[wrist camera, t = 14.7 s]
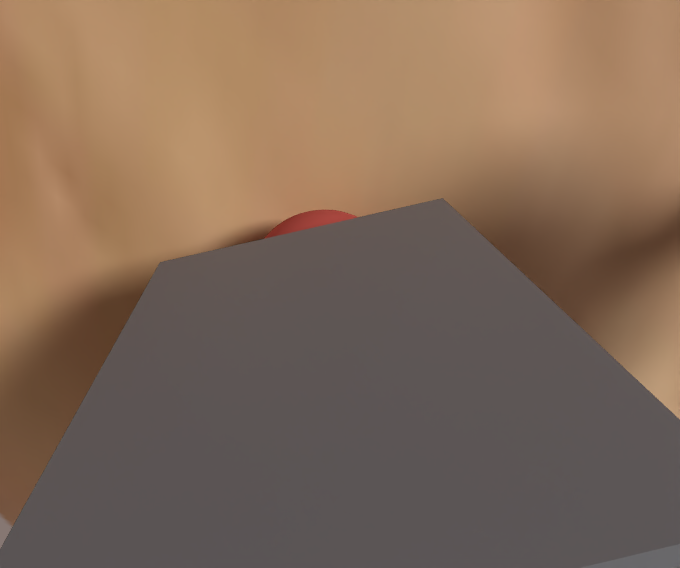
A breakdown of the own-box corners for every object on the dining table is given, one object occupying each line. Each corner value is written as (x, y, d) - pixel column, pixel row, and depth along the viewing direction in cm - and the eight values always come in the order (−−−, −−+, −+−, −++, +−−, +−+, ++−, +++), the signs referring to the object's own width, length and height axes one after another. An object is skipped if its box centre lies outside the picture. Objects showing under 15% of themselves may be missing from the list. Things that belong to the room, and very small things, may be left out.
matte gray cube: (442, 198, 11) (785, 518, 4) (456, 401, 15) (634, 761, 7) (160, 262, 11) (-102, 731, 4) (246, 449, 15) (212, 865, 7)
